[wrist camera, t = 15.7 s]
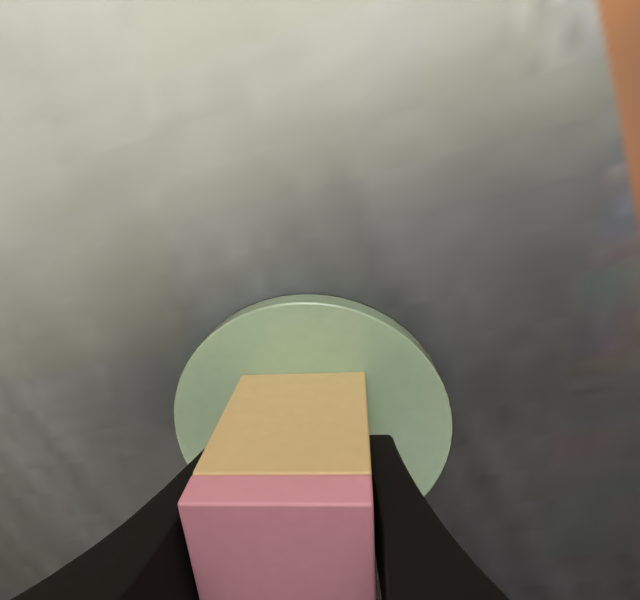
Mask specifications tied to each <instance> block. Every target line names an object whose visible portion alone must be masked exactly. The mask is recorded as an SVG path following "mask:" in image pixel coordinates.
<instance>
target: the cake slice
mask: <svg viewBox="0 0 640 600" xmlns="http://www.w3.org/2000/svg"><path fill="white" fill-rule="evenodd" d="M178 510H179V514H180V518H181V523H182V527H183V531H184V535H185V539H186V544H187V548H188V552H189V556H190V561H191V565H192V569H193V573H194V578H195V582H196V586H197V590H198V595H199V599H200V600H377V588H376V558H375V529H374V502H373V486H372V470H371V455H370V439H369V423H368V407H367V391H366V375H365V372H340V373H300V374H261V375H242V376H241V378H240V380H239V382H238V384H237V386H236V388H235V390H234V392H233V394H232V396H231V398H230V400H229V402H228V404H227V406H226V408H225V410H224V412H223V414H222V416H221V418H220V420H219V422H218V424H217V426H216V428H215V430H214V432H213V434H212V436H211V438H210V440H209V441H208V443H207V445H206V447H205V449H204V451H203V453H202V455H201V457H200V459H199V461H198V463H197V465H196V467H195V469H194V471H193V476H191V477H190V479H189V481H188V483H187V485H186V487H185V489H184V491H183V493H182V495H181V497H180V499H179V501H178Z"/></svg>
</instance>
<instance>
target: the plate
mask: <svg viewBox="0 0 640 600" xmlns="http://www.w3.org/2000/svg"><path fill="white" fill-rule="evenodd" d="M340 372H365V375H366V391H367V407H368V423H369V435H390V436H391V437H392V438H393V439H394V442H395V445H396V448H397V450H398V452H399V454H400V456H401V458H402V460H403V462H404V464H405V466H406V468H407V470H408V472H409V473H410V475H411V477H412V479H413V480H414V482H415V484H416V485H417V487H418V488H419V490H420V492H421V493H422V495H423V496H425V495H426V494H427V493H428V492H429V491H430V489H431V488H432V487H433V485H434V484H435V482H436V481H437V479H438V478H439V476H440V474H441V472H442V470H443V468H444V465H445V463H446V461H447V457H448V454H449V450H450V447H451V439H452V431H453V428H452V412H451V408H450V403H449V398H448V395H447V393H446V390H445V387H444V385H443V382H442V379H441V377H440V375H439V372H438V370H437V368H436V366H435V365H434V363H433V361H432V359H431V357H430V356H429V355H428V353H427V352H426V351H425V349H424V348H423V347H422V345H421V344H420V343H419V342H418V341H417V340H416V339H415V338H414V337H413V336H412V335H411V334H410V333H409V332H408V331H407V330H406V329H404V328H403V327H402V326H400V325H399V324H398V323H397V322H395V321H394V320H393V319H391V318H389V317H387V316H386V315H384V314H382V313H380V312H379V311H377V310H375V309H373V308H370V307H368V306H365V305H363V304H360V303H358V302H354V301H351V300H347V299H343V298H339V297H333V296H326V295H315V294H298V295H289V296H280V297H276V298H272V299H268V300H264V301H261V302H258V303H256V304H253V305H251V306H248V307H246V308H244V309H242V310H240V311H238V312H237V313H235V314H233V315H231V316H230V317H228V318H227V319H226V320H224V321H223V322H222V323H221V324H219V325H218V326H217V327H216V328H215V329H214V330H213V331H212V332H211V333H210V334H209V335H208V336H207V337H206V338H205V339H204V340H203V342H202V343H201V344H200V345H199V346H198V348H197V349H196V351H195V352H194V353H193V355H192V356H191V357H190V359H189V360H188V362H187V364H186V366H185V368H184V370H183V372H182V374H181V377H180V380H179V383H178V386H177V389H176V395H175V402H174V424H175V430H176V436H177V440H178V443H179V446H180V449H181V452H182V454H183V456H184V458H185V461H186V463H187V465H188V464H189V463H190V462H191V461H192V460H193V459H194V458H195V457H196V456H197V455H198V454H199V453H200V452H201V451H202V450H203V449H204V448H205V447H206V445H207V443H208V441H209V440H210V438H211V436H212V434H213V432H214V430H215V428H216V426H217V424H218V422H219V420H220V418H221V416H222V414H223V412H224V410H225V408H226V406H227V404H228V402H229V400H230V398H231V396H232V394H233V392H234V390H235V388H236V386H237V384H238V382H239V380H240V378H241V376H242V375H261V374H300V373H340Z"/></svg>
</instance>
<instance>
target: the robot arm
mask: <svg viewBox="0 0 640 600" xmlns="http://www.w3.org/2000/svg"><path fill="white" fill-rule="evenodd" d="M369 439H370V455H371V470H372V486H373V502H374V529H375V554H376V561H377V568H378V574H379V581H380V588H381V595H382V600H509V599H508V598H507V597H506V596H505V594H504V593H503V592H502V591H501V590H500V589H499V588H498V587H497V586H496V585H495V584H494V583H493V582H492V581H491V580H490V579H489V578H488V577H487V576H486V575H485V574H484V573H483V572H482V571H481V570H480V569H479V567H478V566H477V565H476V564H475V563H474V562H473V561H472V559H471V558H470V557H469V556H468V555H467V554H466V553H465V551H464V550H463V549H462V548H461V547H460V545H459V544H458V543H457V542H456V540H455V539H454V538H453V537H452V536H451V534H450V533H449V532H448V530H447V529H446V528H445V526H444V525H443V524H442V522H441V521H440V520H439V518H438V517H437V515H436V514H435V513H434V511H433V510H432V508H431V507H430V505H429V504H428V503H427V501H426V499H425V498H424V496H423V495H422V493H421V492H420V490H419V488H418V487H417V485H416V484H415V482H414V480H413V479H412V477H411V475H410V473H409V472H408V470H407V468H406V466H405V464H404V462H403V460H402V458H401V456H400V454H399V452H398V450H397V448H396V445H395V442H394V439H393V438H392V437H391V436H390V435H369ZM204 449H205V448H204ZM204 449H203V450H202V451H201V452H200V453H199V454H198V455H197V456H196V457H195V458H194V459H193V460H192V461H191V462H190V463H189V464H188V465H187V466H186V467H185V468H184V469H183V470H182V471H181V472H180V473H179V474H178V475H177V476H176V477H175V478H174V479H173V480H172V481H171V482H170V483H169V484H168V485H167V486H166V487H165V488H163V489H162V490H161V491H160V492H159V493H158V494H157V495H156V496H155V497H153V498H152V499H151V500H150V501H149V502H148V503H147V504H146V505H144V506H143V507H142V508H141V509H140V510H139V511H138V512H137V513H135V514H134V515H133V516H132V517H131V518H129V519H128V520H127V521H126V522H125V523H123V524H122V525H121V526H120V527H118V528H117V529H116V530H114V531H113V532H112V533H110V534H109V535H108V536H107V537H105V538H104V539H103V540H101V541H100V542H99V543H97V544H96V545H95V546H93V547H92V548H90V549H89V550H87V551H86V552H85V553H83V554H82V555H80V556H79V557H77V558H76V559H74V560H73V561H71V562H70V563H68V564H67V565H65V566H64V567H63V568H61V569H60V570H58V571H57V572H55V573H54V574H52V575H51V576H49V577H47V578H46V579H44V580H43V581H41V582H39V583H38V584H36V585H34V586H33V587H31V588H30V589H28V590H26V591H25V592H23V593H21V594H20V595H18V596H16V597H14V598H13V599H11V600H200V599H199V595H198V590H197V586H196V582H195V578H194V573H193V569H192V565H191V561H190V556H189V552H188V548H187V544H186V539H185V535H184V531H183V527H182V523H181V518H180V514H179V510H178V501H179V499H180V497H181V495H182V493H183V491H184V489H185V487H186V485H187V483H188V481H189V479H190V477H191V476H193V471H194V469H195V467H196V465H197V463H198V461H199V459H200V457H201V455H202V453H203V451H204Z"/></svg>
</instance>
